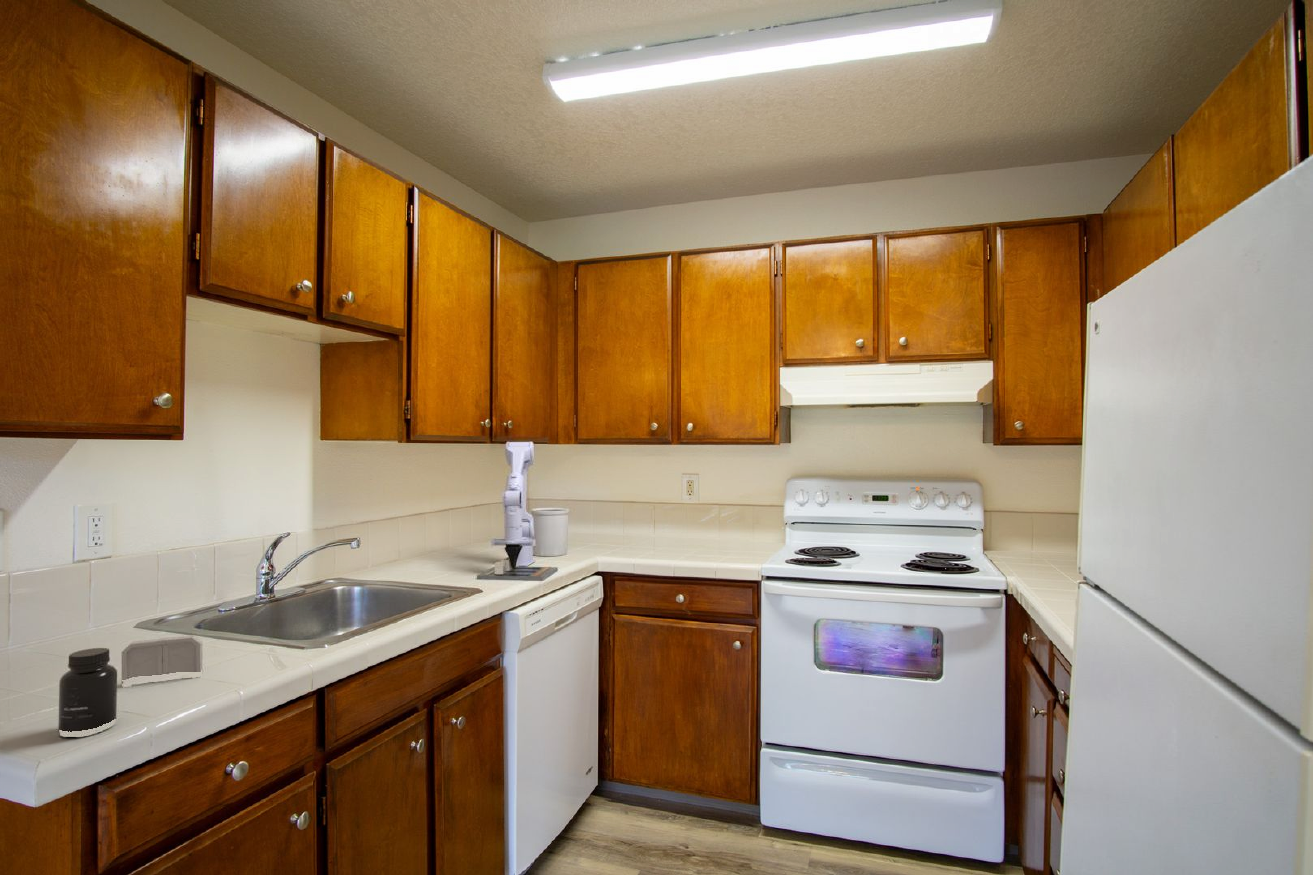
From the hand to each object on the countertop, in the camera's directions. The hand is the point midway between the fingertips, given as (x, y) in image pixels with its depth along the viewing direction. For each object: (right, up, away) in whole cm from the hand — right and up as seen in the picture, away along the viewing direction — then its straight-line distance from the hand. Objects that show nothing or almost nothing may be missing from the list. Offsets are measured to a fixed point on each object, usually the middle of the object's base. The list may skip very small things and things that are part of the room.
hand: (513, 567), depth 218 cm
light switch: (-45, -3, -96) cm, 106 cm away
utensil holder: (+6, -3, +41) cm, 41 cm away
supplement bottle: (-41, -2, -116) cm, 123 cm away
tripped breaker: (-2, -1, 0) cm, 3 cm away
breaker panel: (+2, -2, 0) cm, 3 cm away
